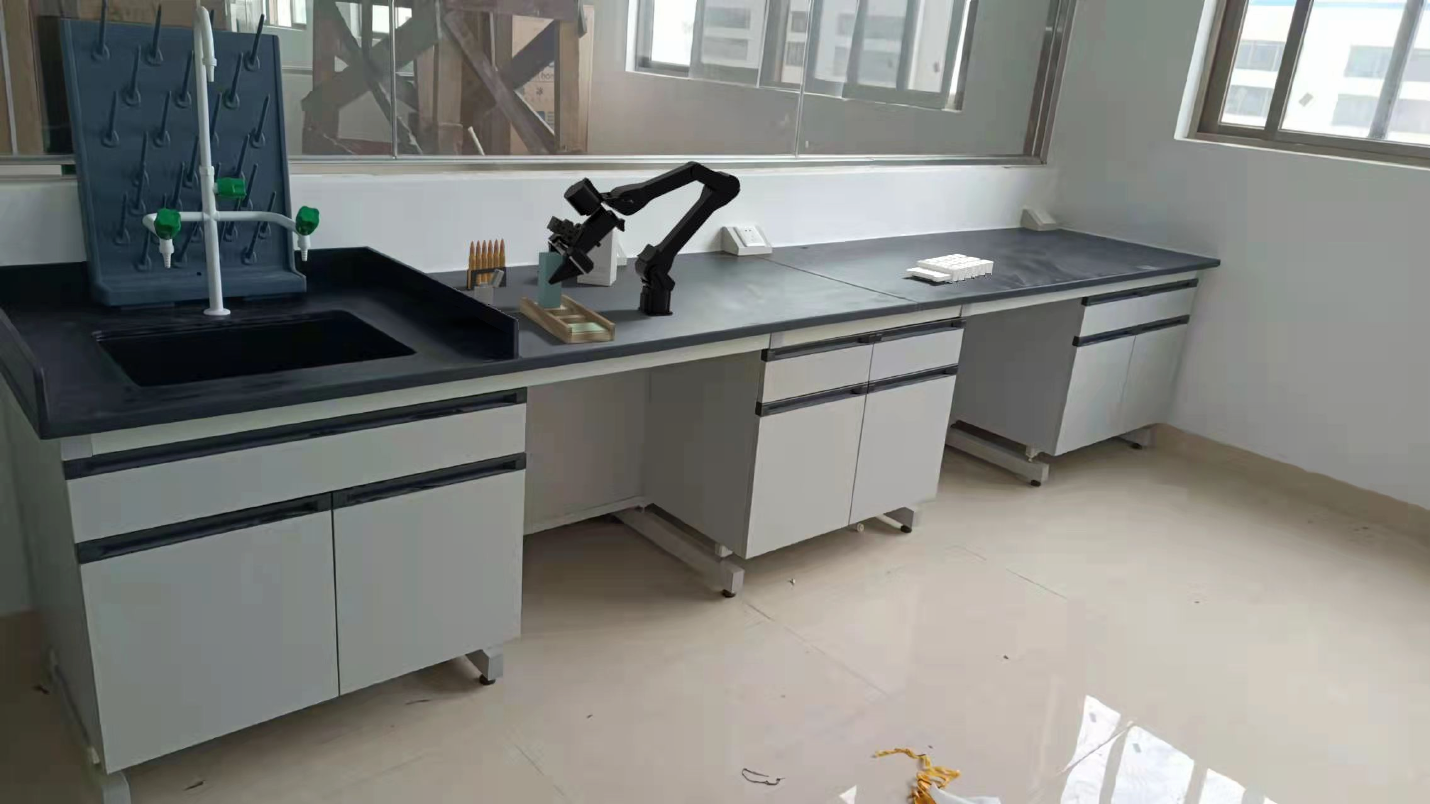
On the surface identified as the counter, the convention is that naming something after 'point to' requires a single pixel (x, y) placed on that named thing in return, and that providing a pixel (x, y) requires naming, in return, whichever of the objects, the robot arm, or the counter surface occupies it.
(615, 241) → the supplement box
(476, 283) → the ammunition clip
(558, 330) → the wooden slatted tray
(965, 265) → the organizer
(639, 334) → the counter surface
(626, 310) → the counter surface
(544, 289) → the teal block
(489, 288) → the lighter
